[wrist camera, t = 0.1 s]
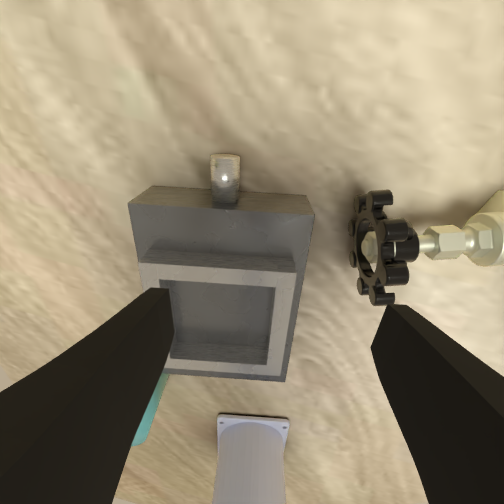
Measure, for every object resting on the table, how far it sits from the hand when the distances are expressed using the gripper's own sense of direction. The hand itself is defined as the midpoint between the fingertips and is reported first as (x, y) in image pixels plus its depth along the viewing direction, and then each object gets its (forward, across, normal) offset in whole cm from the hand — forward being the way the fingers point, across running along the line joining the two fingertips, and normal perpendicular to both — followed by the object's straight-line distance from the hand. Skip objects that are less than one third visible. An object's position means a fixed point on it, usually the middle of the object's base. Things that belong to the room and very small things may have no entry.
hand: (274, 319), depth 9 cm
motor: (+10, +3, +4) cm, 11 cm away
